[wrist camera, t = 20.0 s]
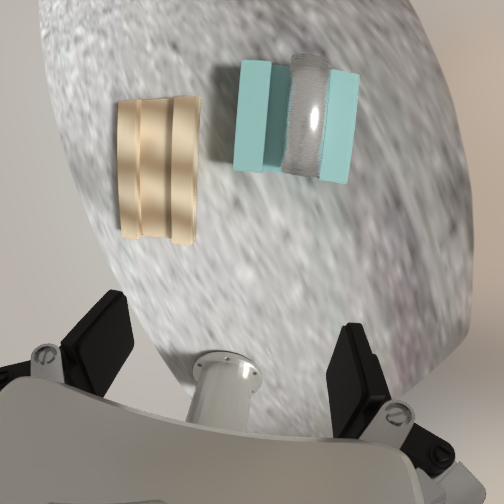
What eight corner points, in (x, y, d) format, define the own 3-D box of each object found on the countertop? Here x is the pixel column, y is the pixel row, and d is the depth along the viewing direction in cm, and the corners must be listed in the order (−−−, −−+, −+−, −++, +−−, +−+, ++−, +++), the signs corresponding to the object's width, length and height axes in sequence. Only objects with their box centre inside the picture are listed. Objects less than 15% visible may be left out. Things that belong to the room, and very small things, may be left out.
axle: (307, 170, 30) (326, 177, 26) (274, 168, 29) (290, 175, 25) (318, 66, 25) (339, 62, 21) (284, 58, 23) (302, 51, 20)
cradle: (339, 177, 32) (346, 184, 28) (238, 165, 32) (232, 170, 29) (350, 80, 26) (359, 74, 23) (246, 67, 27) (241, 59, 23)
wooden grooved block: (196, 238, 37) (190, 245, 35) (129, 231, 37) (122, 237, 35) (201, 97, 29) (195, 96, 27) (127, 102, 30) (118, 101, 28)
